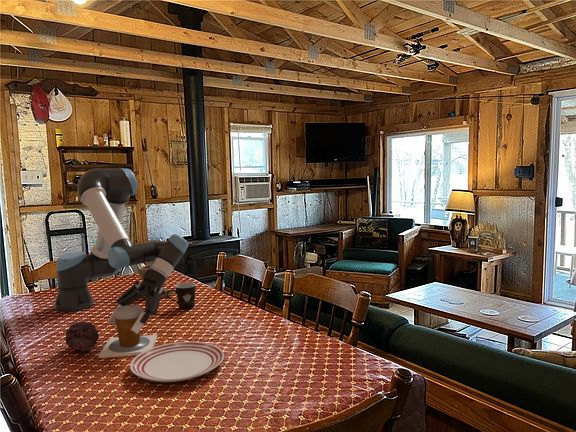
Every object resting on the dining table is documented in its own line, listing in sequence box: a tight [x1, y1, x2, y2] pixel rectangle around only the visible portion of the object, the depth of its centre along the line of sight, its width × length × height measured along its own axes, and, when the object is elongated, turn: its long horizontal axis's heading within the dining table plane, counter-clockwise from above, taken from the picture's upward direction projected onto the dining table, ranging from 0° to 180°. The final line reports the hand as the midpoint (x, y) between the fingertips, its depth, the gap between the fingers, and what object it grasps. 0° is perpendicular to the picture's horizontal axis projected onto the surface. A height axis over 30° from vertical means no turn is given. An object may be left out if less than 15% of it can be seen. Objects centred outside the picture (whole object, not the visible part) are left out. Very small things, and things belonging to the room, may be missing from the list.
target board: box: [98, 334, 158, 359], centre depth 145 cm, size 16×14×1 cm
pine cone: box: [64, 321, 100, 352], centre depth 142 cm, size 18×10×10 cm, turn 36°
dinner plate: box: [129, 341, 225, 383], centre depth 130 cm, size 27×27×3 cm
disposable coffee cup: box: [112, 304, 144, 347], centre depth 144 cm, size 10×10×12 cm
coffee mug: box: [166, 282, 197, 311], centre depth 185 cm, size 12×9×10 cm
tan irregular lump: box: [138, 263, 175, 299], centre depth 203 cm, size 15×12×15 cm
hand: (122, 327), depth 142 cm, fingers open, 13 cm apart
